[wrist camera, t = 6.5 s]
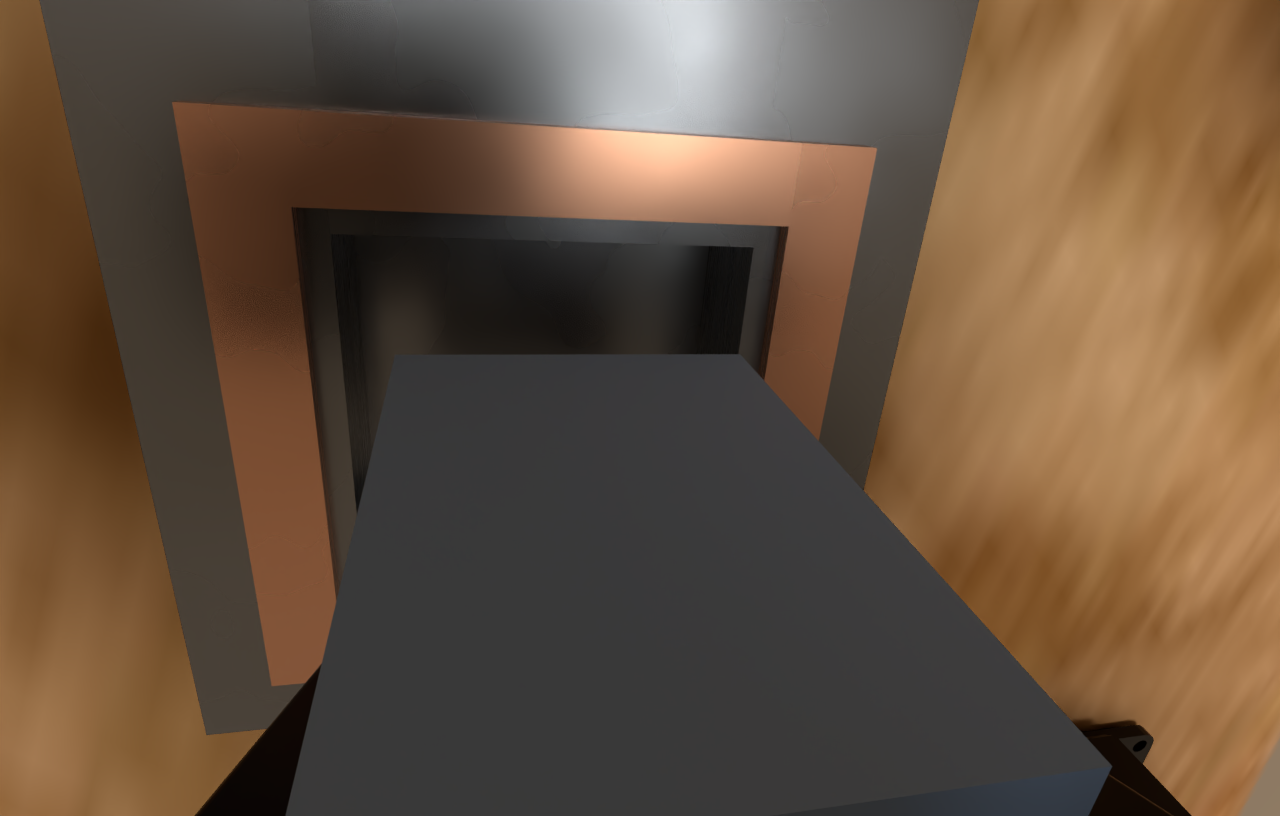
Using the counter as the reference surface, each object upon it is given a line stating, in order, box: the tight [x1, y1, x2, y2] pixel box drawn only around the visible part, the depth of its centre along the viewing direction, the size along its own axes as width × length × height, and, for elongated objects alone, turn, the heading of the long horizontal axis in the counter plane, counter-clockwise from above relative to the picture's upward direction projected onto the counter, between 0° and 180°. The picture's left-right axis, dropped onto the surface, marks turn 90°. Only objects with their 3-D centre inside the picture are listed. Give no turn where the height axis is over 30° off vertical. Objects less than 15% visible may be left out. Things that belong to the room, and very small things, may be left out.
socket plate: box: [40, 0, 979, 735], centre depth 11 cm, size 24×12×3 cm, turn 175°
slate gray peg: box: [286, 354, 1112, 816], centre depth 8 cm, size 4×4×6 cm
